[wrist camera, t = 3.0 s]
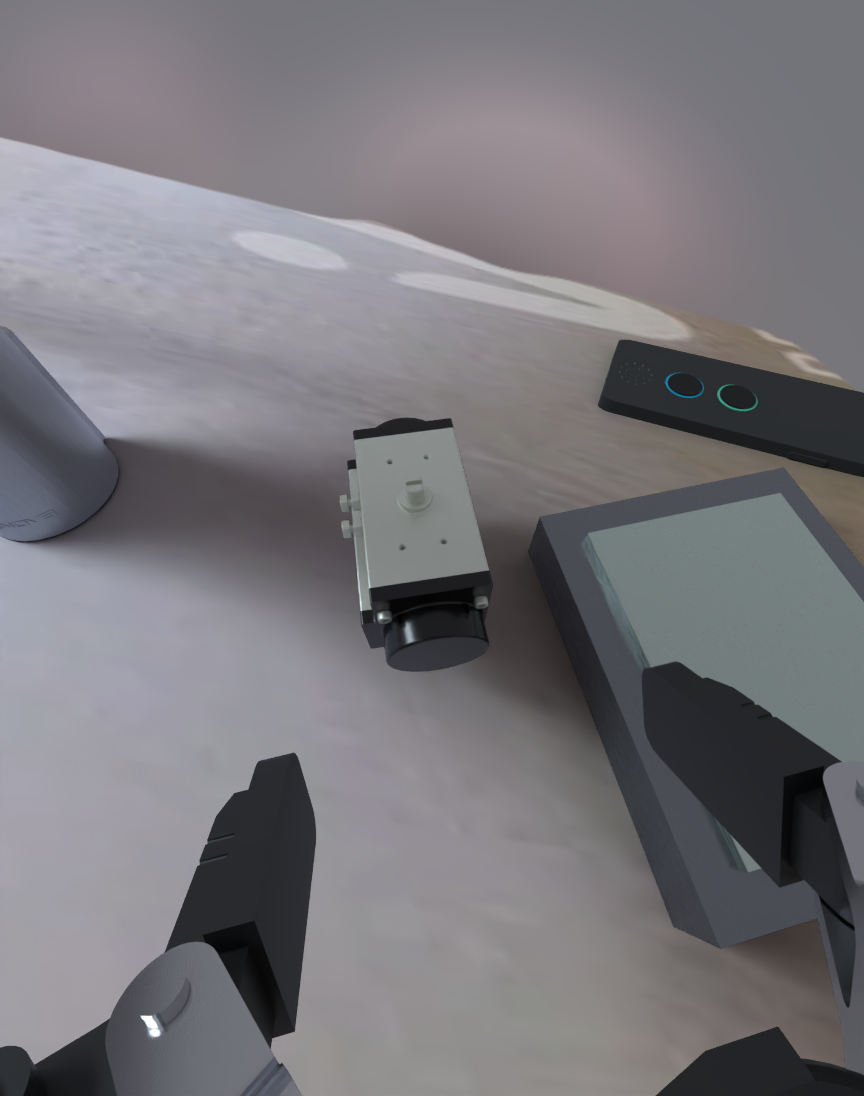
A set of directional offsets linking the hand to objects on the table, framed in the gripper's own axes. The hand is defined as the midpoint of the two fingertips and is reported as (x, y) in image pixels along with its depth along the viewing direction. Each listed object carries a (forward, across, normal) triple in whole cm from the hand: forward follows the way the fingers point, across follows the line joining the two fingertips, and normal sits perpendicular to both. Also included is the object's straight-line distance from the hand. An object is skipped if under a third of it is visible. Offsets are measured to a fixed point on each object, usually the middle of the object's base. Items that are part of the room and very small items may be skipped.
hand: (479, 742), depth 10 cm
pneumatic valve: (+18, 0, +4) cm, 19 cm away
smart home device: (+26, -28, -4) cm, 39 cm away
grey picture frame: (+12, -16, +9) cm, 22 cm away
